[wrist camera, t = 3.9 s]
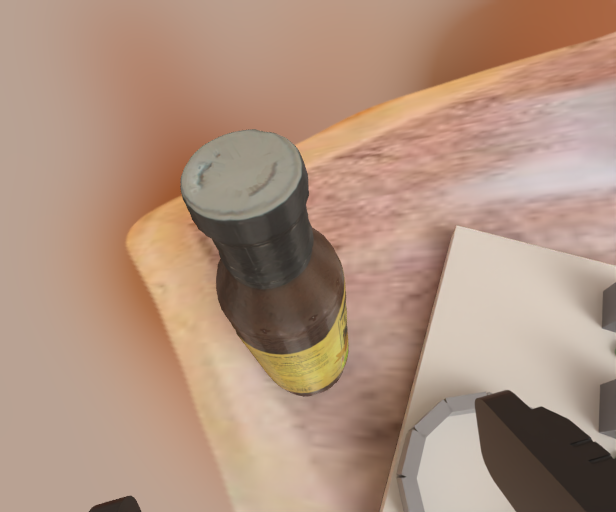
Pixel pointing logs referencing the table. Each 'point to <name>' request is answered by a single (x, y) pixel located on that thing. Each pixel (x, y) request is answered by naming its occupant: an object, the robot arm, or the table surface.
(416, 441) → the breaker board
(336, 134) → the table surface
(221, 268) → the sauce bottle
